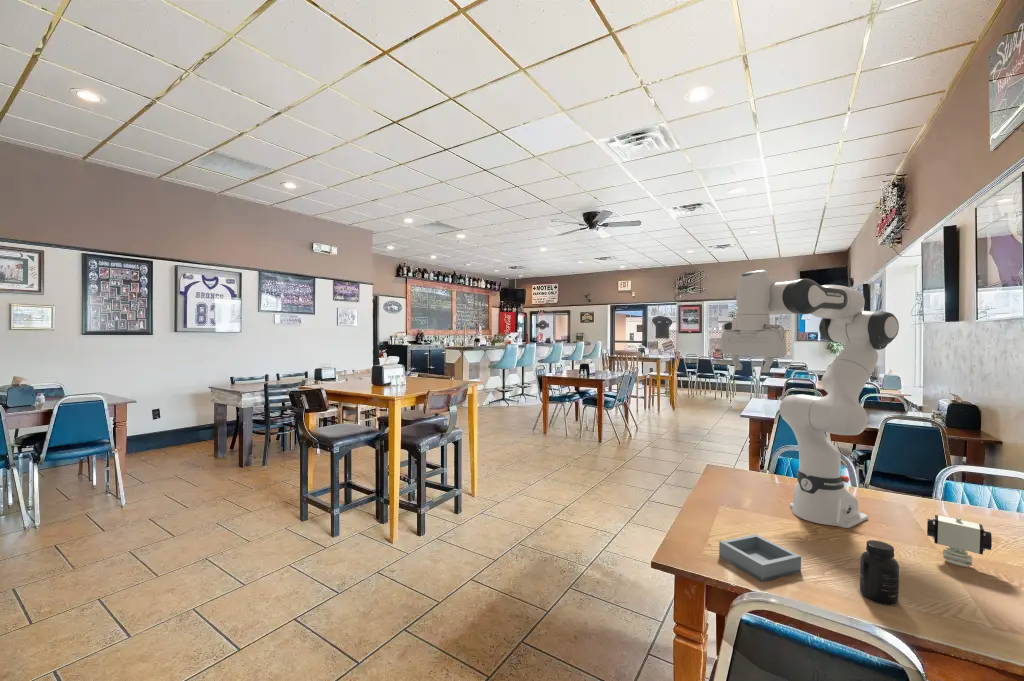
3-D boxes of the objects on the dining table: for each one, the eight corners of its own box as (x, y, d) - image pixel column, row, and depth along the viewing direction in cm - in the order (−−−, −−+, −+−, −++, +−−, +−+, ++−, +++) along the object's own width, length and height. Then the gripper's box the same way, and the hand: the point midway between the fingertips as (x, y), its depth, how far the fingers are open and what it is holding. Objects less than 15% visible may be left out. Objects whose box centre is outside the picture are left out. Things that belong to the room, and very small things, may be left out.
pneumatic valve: (990, 575, 111) (992, 527, 111) (926, 558, 119) (927, 514, 119) (988, 567, 115) (990, 520, 115) (926, 551, 123) (927, 508, 123)
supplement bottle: (851, 589, 104) (853, 537, 104) (878, 588, 105) (880, 537, 105) (878, 607, 97) (879, 552, 97) (907, 606, 98) (908, 551, 98)
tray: (755, 548, 124) (755, 534, 123) (800, 572, 111) (801, 556, 111) (719, 556, 119) (719, 541, 119) (762, 582, 107) (762, 565, 107)
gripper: (792, 324, 126) (791, 374, 126) (732, 325, 145) (731, 368, 145) (776, 324, 123) (775, 374, 124) (717, 325, 142) (716, 368, 143)
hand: (751, 371), depth 134 cm, fingers open, 8 cm apart
